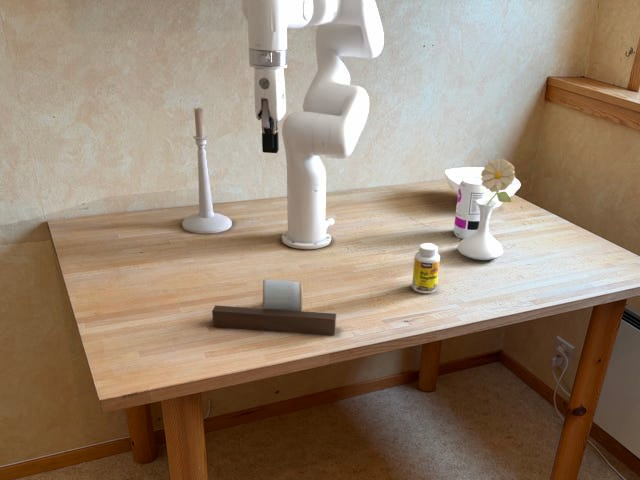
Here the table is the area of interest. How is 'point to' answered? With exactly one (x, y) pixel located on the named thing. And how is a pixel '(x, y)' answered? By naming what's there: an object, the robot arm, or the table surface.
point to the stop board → (274, 320)
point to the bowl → (458, 174)
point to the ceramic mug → (282, 295)
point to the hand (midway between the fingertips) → (270, 151)
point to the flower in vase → (488, 211)
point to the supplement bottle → (426, 268)
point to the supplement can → (468, 206)
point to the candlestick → (204, 190)
